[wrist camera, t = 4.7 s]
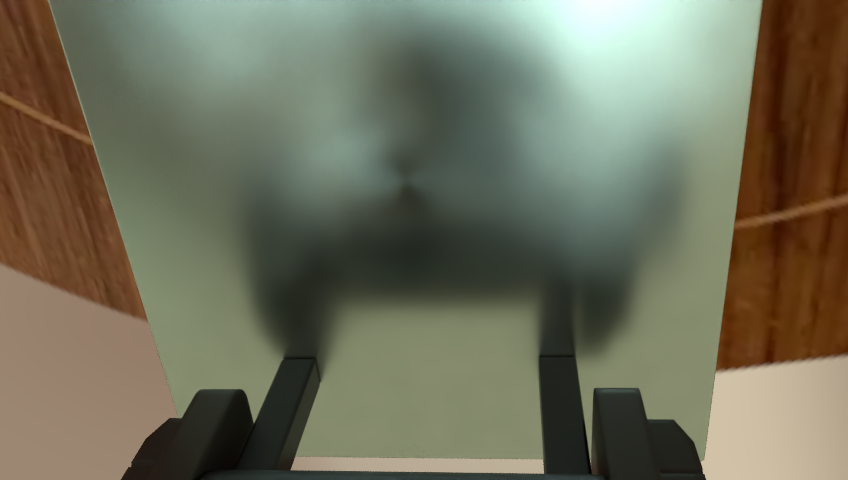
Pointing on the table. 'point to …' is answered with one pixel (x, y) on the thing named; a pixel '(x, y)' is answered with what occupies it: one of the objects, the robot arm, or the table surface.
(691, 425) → the lid
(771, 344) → the table surface
